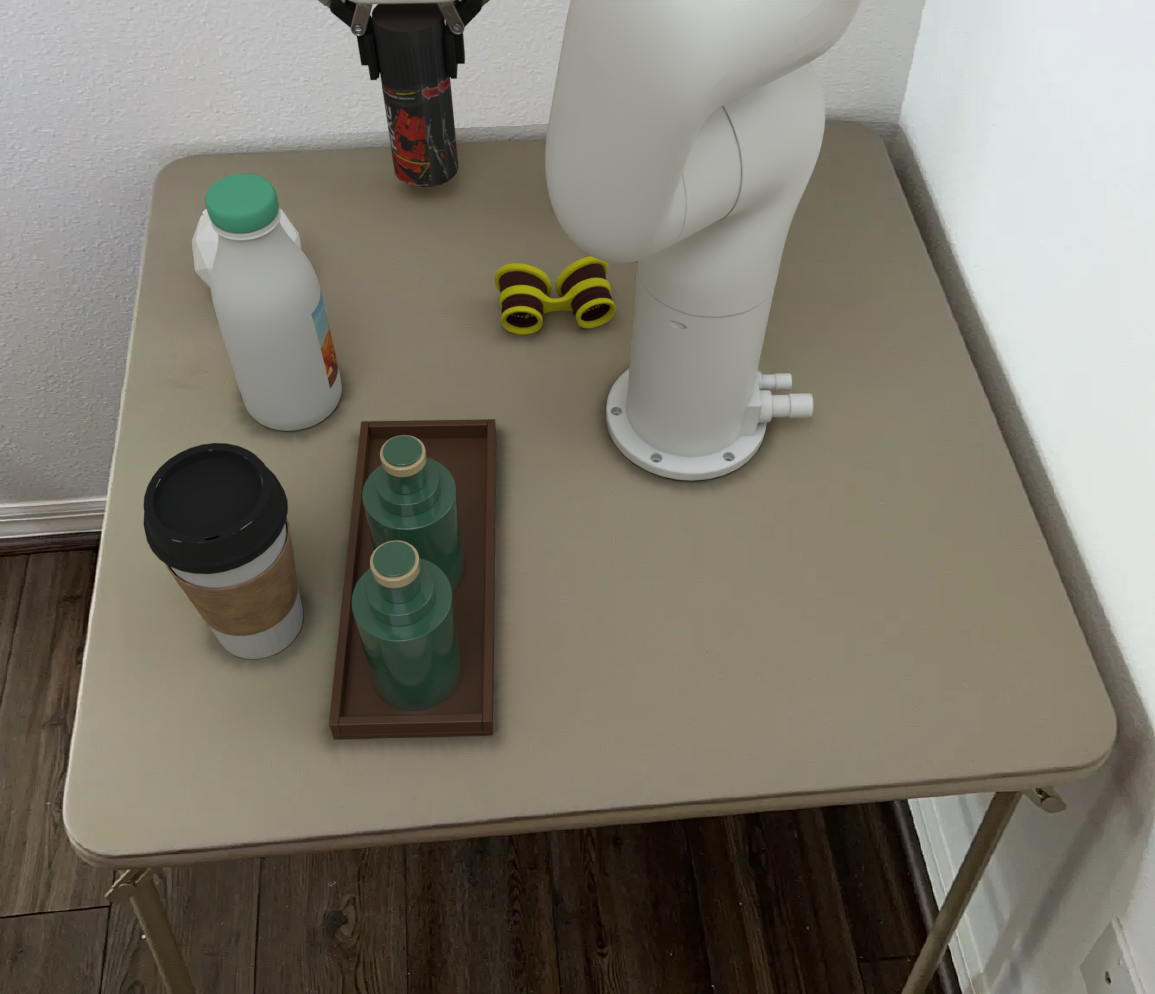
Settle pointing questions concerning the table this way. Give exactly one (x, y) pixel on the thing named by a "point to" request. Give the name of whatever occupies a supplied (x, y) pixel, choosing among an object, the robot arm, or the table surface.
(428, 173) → the deodorant
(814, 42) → the robot arm
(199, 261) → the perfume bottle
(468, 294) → the table surface
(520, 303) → the opera glasses
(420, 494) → the bottle middle
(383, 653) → the bottle front
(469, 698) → the tray
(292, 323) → the milk bottle
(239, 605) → the coffee cup
